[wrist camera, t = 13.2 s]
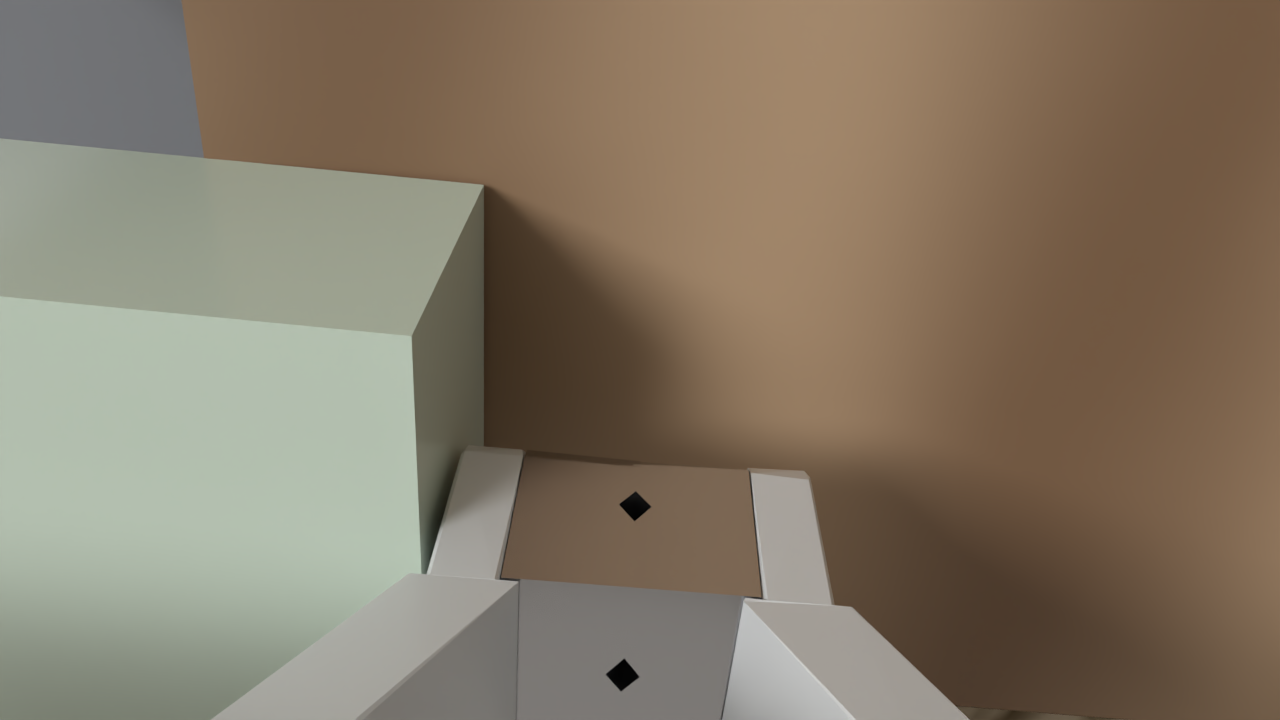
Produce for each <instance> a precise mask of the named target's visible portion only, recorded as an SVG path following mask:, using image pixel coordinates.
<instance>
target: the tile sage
mask: <svg viewBox="0 0 1280 720" xmlns="http://www.w3.org/2000/svg"><path fill="white" fill-rule="evenodd" d="M468 445H474V446H484V185H481V184H471V183H460V182H450V181H439V180H429V179H418V178H408V177H397V176H387V175H377V174H366V173H356V172H345V171H335V170H324V169H314V168H304V167H293V166H283V165H272V164H262V163H251V162H241V161H231V160H219V159H207V158H199V157H189V156H178V155H168V154H157V153H147V152H137V151H126V150H116V149H105V148H95V147H84V146H74V145H64V144H53V143H43V142H32V141H22V140H11V139H1V138H0V720H211V719H212V718H214V717H215V716H216V715H218V714H219V713H220V712H222V711H223V710H225V709H226V708H227V707H229V706H230V705H231V704H233V703H234V702H235V701H237V700H238V699H239V698H241V697H242V696H243V695H245V694H246V693H247V692H249V691H250V690H252V689H253V688H254V687H256V686H257V685H258V684H260V683H261V682H262V681H264V680H265V679H266V678H268V677H269V676H270V675H272V674H273V673H274V672H276V671H277V670H279V669H280V668H281V667H283V666H284V665H285V664H287V663H288V662H289V661H291V660H292V659H293V658H295V657H296V656H297V655H299V654H300V653H301V652H303V651H304V650H306V649H307V648H308V647H310V646H311V645H312V644H314V643H315V642H316V641H318V640H319V639H320V638H322V637H323V636H324V635H326V634H327V633H328V632H330V631H331V630H333V629H334V628H335V627H337V626H338V625H339V624H341V623H342V622H343V621H345V620H346V619H347V618H349V617H350V616H351V615H353V614H354V613H355V612H357V611H358V610H360V609H361V608H362V607H364V606H365V605H366V604H368V603H369V602H370V601H372V600H373V599H374V598H376V597H377V596H378V595H380V594H381V593H383V592H384V591H385V590H387V589H388V588H389V587H391V586H392V585H393V584H395V583H396V582H397V581H399V580H400V579H401V578H403V577H404V576H405V575H407V574H409V573H414V574H427V571H428V567H429V564H430V560H431V557H432V554H433V550H434V547H435V543H436V540H437V536H438V533H439V529H440V526H441V522H442V519H443V515H444V512H445V508H446V505H447V501H448V498H449V494H450V491H451V487H452V484H453V480H454V477H455V473H456V470H457V466H458V463H459V459H460V456H461V454H462V452H463V451H464V450H465V449H466V447H467V446H468Z"/></svg>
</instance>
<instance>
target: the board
mask: <svg viewBox="0 0 1280 720" xmlns="http://www.w3.org/2000/svg"><path fill="white" fill-rule="evenodd" d="M181 1H182V8H183V15H184V22H185V29H186V36H187V43H188V50H189V57H190V64H191V71H192V78H193V85H194V92H195V99H196V106H197V113H198V120H199V127H200V134H201V141H202V148H203V155H204V158H207V159H219V160H231V161H241V162H251V163H262V164H272V165H283V166H293V167H304V168H314V169H324V170H335V171H345V172H356V173H366V174H377V175H387V176H397V177H408V178H418V179H429V180H439V181H450V182H460V183H471V184H481V185H484V446H485V447H497V448H509V449H521V450H523V451H525V452H527V450H534V451H544V452H554V453H564V454H574V455H584V456H594V457H604V458H614V459H624V460H634V461H641V462H646V463H660V464H673V465H687V466H700V467H713V468H727V469H740V470H747V469H748V468H759V469H778V470H798V471H805V472H806V473H807V474H808V476H809V477H810V478H811V484H812V489H813V494H814V499H815V505H816V510H817V515H818V520H819V526H820V531H821V536H822V541H823V547H824V552H825V557H826V562H827V568H828V573H829V578H830V584H831V589H832V594H833V599H834V605H836V606H848V607H853V608H854V609H855V610H856V611H857V612H858V613H859V614H860V615H861V616H862V617H863V618H865V619H866V620H867V621H868V622H869V623H870V624H871V625H872V626H873V627H874V628H875V629H876V630H877V631H878V632H879V633H880V634H881V635H882V636H883V637H884V638H885V639H886V640H887V641H889V642H890V643H891V644H892V645H893V646H894V647H895V648H896V649H897V650H898V651H899V652H900V653H901V654H902V655H903V656H904V657H905V658H906V659H907V660H908V661H909V662H910V663H911V664H912V665H914V666H915V667H916V668H917V669H918V670H919V671H920V672H921V673H922V674H923V675H924V676H925V677H926V678H927V679H928V680H929V681H930V682H931V683H932V684H933V685H934V686H935V687H936V688H937V689H939V690H940V691H941V692H942V693H943V694H944V695H945V696H946V697H947V698H948V699H949V700H950V701H951V702H952V703H953V704H954V705H955V706H963V707H976V708H988V709H1000V710H1013V711H1025V712H1038V713H1050V714H1062V715H1075V716H1087V717H1099V718H1112V719H1124V720H1280V0H181Z"/></svg>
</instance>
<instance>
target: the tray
mask: <svg viewBox="0 0 1280 720" xmlns="http://www.w3.org/2000/svg"><path fill="white" fill-rule="evenodd" d="M0 138H1V139H11V140H22V141H32V142H43V143H53V144H64V145H74V146H84V147H95V148H105V149H116V150H126V151H137V152H147V153H157V154H168V155H178V156H189V157H199V158H204V155H203V148H202V141H201V134H200V127H199V120H198V113H197V106H196V99H195V92H194V85H193V78H192V71H191V64H190V57H189V50H188V43H187V36H186V29H185V22H184V15H183V8H182V1H181V0H0Z"/></svg>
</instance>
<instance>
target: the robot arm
mask: <svg viewBox="0 0 1280 720" xmlns="http://www.w3.org/2000/svg"><path fill="white" fill-rule="evenodd" d="M211 720H970V719H969V718H968V717H967V716H966V715H965V714H964V713H962V712H961V711H960V710H959V709H958V708H957V707H956V706H955V705H954V704H953V703H952V702H951V701H950V700H949V699H948V698H947V697H946V696H945V695H944V694H943V693H942V692H941V691H940V690H939V689H937V688H936V687H935V686H934V685H933V684H932V683H931V682H930V681H929V680H928V679H927V678H926V677H925V676H924V675H923V674H922V673H921V672H920V671H919V670H918V669H917V668H916V667H915V666H914V665H912V664H911V663H910V662H909V661H908V660H907V659H906V658H905V657H904V656H903V655H902V654H901V653H900V652H899V651H898V650H897V649H896V648H895V647H894V646H893V645H892V644H891V643H890V642H889V641H887V640H886V639H885V638H884V637H883V636H882V635H881V634H880V633H879V632H878V631H877V630H876V629H875V628H874V627H873V626H872V625H871V624H870V623H869V622H868V621H867V620H866V619H865V618H863V617H862V616H861V615H860V614H859V613H858V612H857V611H856V610H855V609H854V608H853V607H848V606H836V605H834V599H833V594H832V589H831V584H830V578H829V573H828V568H827V562H826V557H825V552H824V547H823V541H822V536H821V531H820V526H819V520H818V515H817V510H816V505H815V499H814V494H813V489H812V484H811V478H810V477H809V476H808V474H807V473H806V472H805V471H798V470H778V469H759V468H748V469H747V470H740V469H727V468H713V467H700V466H687V465H673V464H660V463H646V462H641V461H634V460H624V459H614V458H604V457H594V456H584V455H574V454H564V453H554V452H544V451H534V450H527V452H525V451H523V450H521V449H509V448H497V447H485V446H474V445H468V446H467V447H466V449H465V450H464V451H463V452H462V454H461V456H460V459H459V463H458V466H457V470H456V473H455V477H454V480H453V484H452V487H451V491H450V494H449V498H448V501H447V505H446V508H445V512H444V515H443V519H442V522H441V526H440V529H439V533H438V536H437V540H436V543H435V547H434V550H433V554H432V557H431V560H430V564H429V567H428V571H427V574H414V573H409V574H407V575H405V576H404V577H403V578H401V579H400V580H399V581H397V582H396V583H395V584H393V585H392V586H391V587H389V588H388V589H387V590H385V591H384V592H383V593H381V594H380V595H378V596H377V597H376V598H374V599H373V600H372V601H370V602H369V603H368V604H366V605H365V606H364V607H362V608H361V609H360V610H358V611H357V612H355V613H354V614H353V615H351V616H350V617H349V618H347V619H346V620H345V621H343V622H342V623H341V624H339V625H338V626H337V627H335V628H334V629H333V630H331V631H330V632H328V633H327V634H326V635H324V636H323V637H322V638H320V639H319V640H318V641H316V642H315V643H314V644H312V645H311V646H310V647H308V648H307V649H306V650H304V651H303V652H301V653H300V654H299V655H297V656H296V657H295V658H293V659H292V660H291V661H289V662H288V663H287V664H285V665H284V666H283V667H281V668H280V669H279V670H277V671H276V672H274V673H273V674H272V675H270V676H269V677H268V678H266V679H265V680H264V681H262V682H261V683H260V684H258V685H257V686H256V687H254V688H253V689H252V690H250V691H249V692H247V693H246V694H245V695H243V696H242V697H241V698H239V699H238V700H237V701H235V702H234V703H233V704H231V705H230V706H229V707H227V708H226V709H225V710H223V711H222V712H220V713H219V714H218V715H216V716H215V717H214V718H212V719H211Z"/></svg>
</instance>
